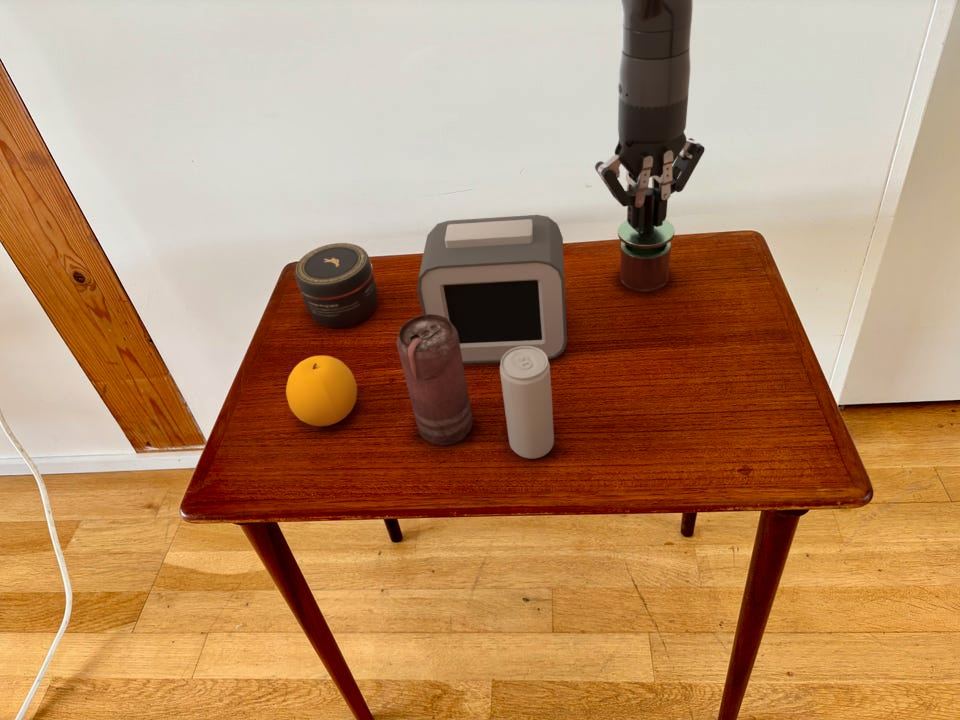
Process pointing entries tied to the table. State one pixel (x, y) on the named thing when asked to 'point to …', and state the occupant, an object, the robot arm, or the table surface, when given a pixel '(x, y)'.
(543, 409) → the beverage can
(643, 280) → the pot
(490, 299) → the alarm clock
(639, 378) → the table surface
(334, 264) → the jar
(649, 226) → the lid
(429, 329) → the can
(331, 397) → the orange
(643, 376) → the table surface
